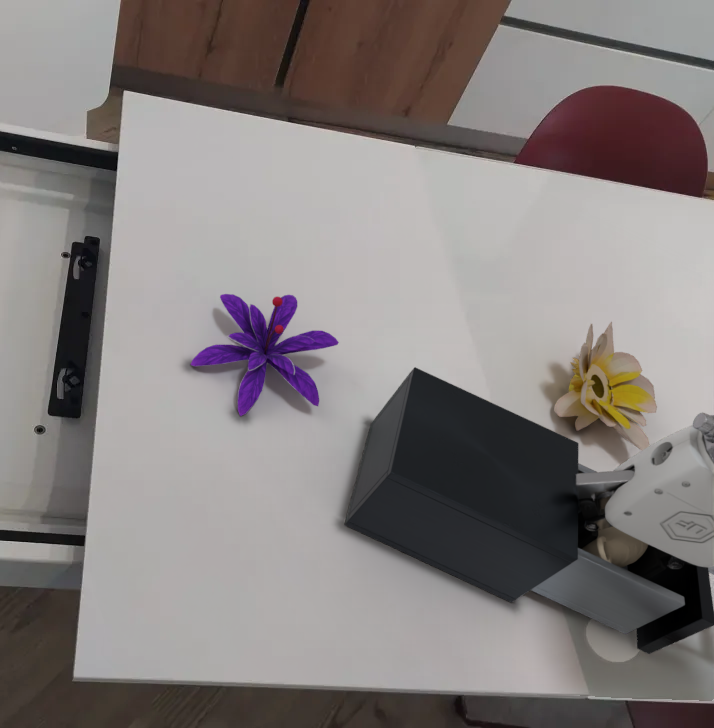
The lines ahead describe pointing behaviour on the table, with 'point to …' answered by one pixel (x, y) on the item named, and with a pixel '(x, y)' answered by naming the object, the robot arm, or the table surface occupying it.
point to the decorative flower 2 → (608, 390)
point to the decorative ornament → (616, 547)
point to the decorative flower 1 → (265, 348)
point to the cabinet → (468, 488)
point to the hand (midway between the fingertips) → (600, 554)
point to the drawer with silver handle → (635, 597)
